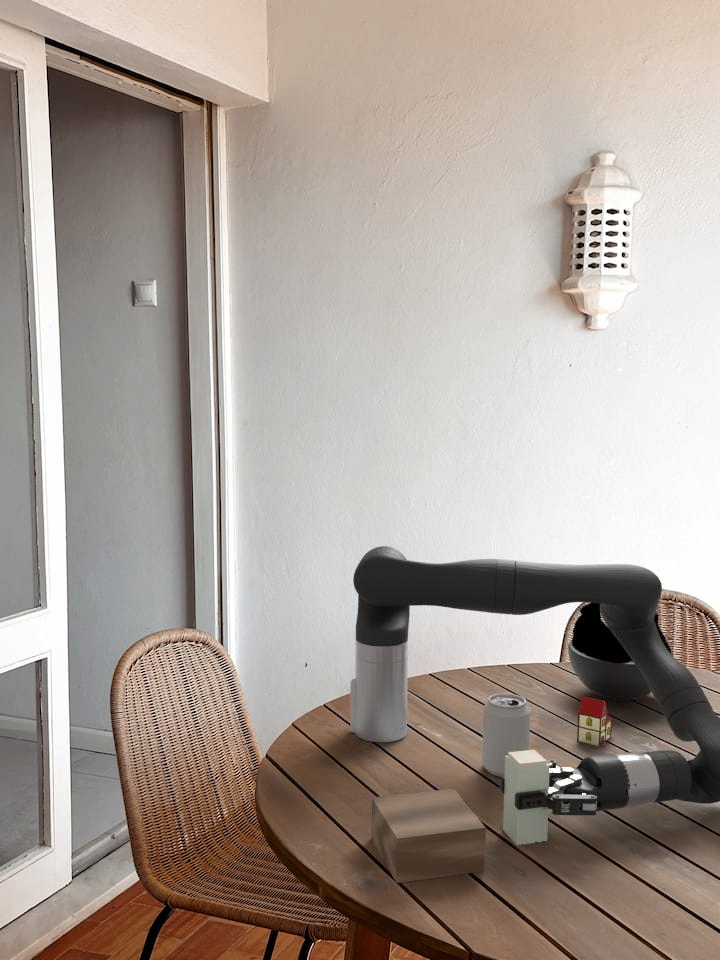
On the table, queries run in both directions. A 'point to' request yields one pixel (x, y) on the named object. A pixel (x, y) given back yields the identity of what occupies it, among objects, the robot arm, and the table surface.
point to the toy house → (593, 722)
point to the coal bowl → (605, 658)
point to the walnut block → (427, 835)
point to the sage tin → (525, 776)
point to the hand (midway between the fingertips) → (508, 793)
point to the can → (504, 730)
